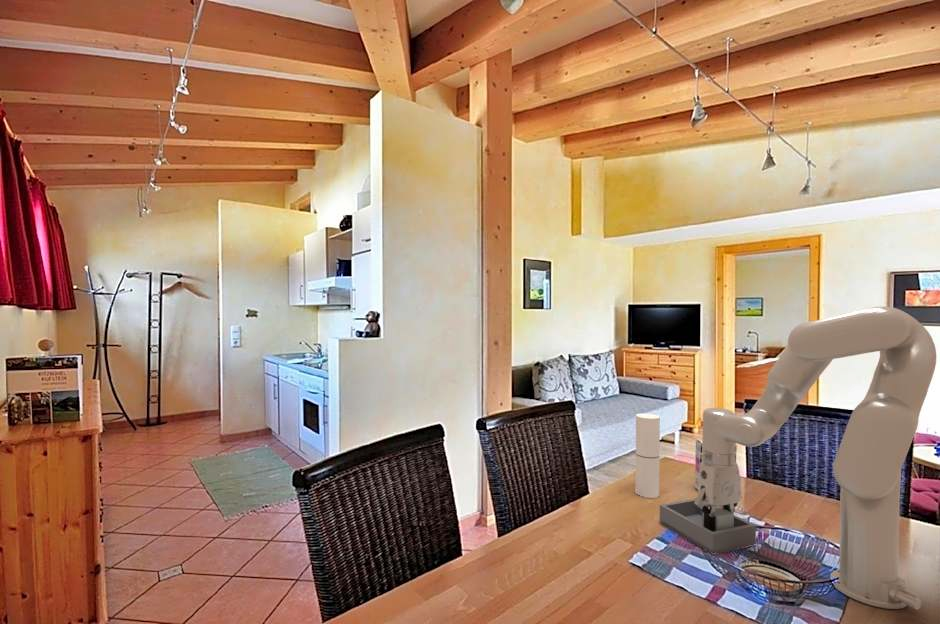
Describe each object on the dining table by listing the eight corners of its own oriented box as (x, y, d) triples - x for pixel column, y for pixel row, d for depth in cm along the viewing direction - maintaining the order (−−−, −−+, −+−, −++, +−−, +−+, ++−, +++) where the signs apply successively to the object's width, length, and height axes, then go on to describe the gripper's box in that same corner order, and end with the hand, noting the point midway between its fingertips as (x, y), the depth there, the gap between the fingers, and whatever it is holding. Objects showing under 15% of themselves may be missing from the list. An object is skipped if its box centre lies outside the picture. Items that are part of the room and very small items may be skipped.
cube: (733, 533, 119) (733, 513, 119) (718, 536, 118) (718, 516, 118) (717, 524, 124) (717, 505, 124) (702, 527, 122) (702, 508, 122)
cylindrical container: (635, 496, 149) (636, 417, 149) (634, 488, 156) (635, 412, 156) (660, 499, 147) (660, 419, 147) (658, 490, 154) (658, 414, 153)
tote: (755, 545, 118) (755, 525, 118) (712, 554, 114) (713, 534, 114) (698, 515, 135) (699, 498, 135) (659, 522, 131) (659, 504, 131)
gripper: (704, 465, 114) (704, 540, 114) (756, 458, 120) (755, 529, 120) (681, 456, 121) (680, 527, 121) (731, 450, 127) (730, 517, 127)
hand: (718, 527), depth 121 cm, fingers closed on cube, 4 cm apart
